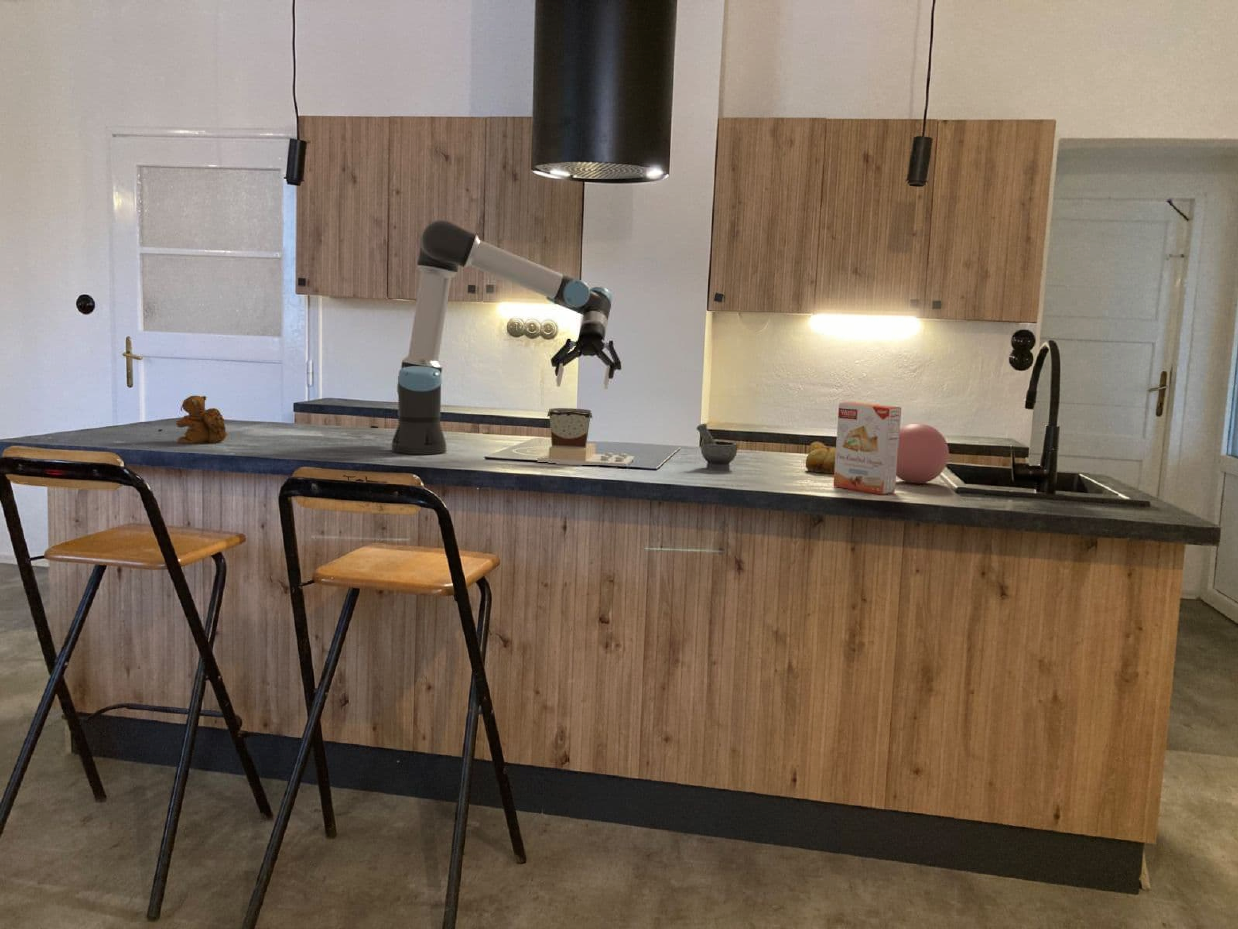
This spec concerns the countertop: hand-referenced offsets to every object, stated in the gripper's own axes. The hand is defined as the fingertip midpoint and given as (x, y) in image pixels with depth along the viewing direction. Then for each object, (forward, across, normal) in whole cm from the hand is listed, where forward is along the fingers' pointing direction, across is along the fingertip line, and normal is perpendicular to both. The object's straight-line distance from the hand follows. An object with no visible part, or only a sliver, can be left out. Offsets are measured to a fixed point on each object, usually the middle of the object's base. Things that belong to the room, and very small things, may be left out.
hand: (581, 384), depth 285 cm
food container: (+19, 0, -4) cm, 20 cm away
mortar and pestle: (+20, -39, -9) cm, 45 cm away
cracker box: (+37, -76, +8) cm, 85 cm away
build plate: (+22, -4, -7) cm, 23 cm away
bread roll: (+17, -69, -12) cm, 72 cm away
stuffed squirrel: (+26, +105, -3) cm, 108 cm away
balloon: (+23, -90, -6) cm, 93 cm away
